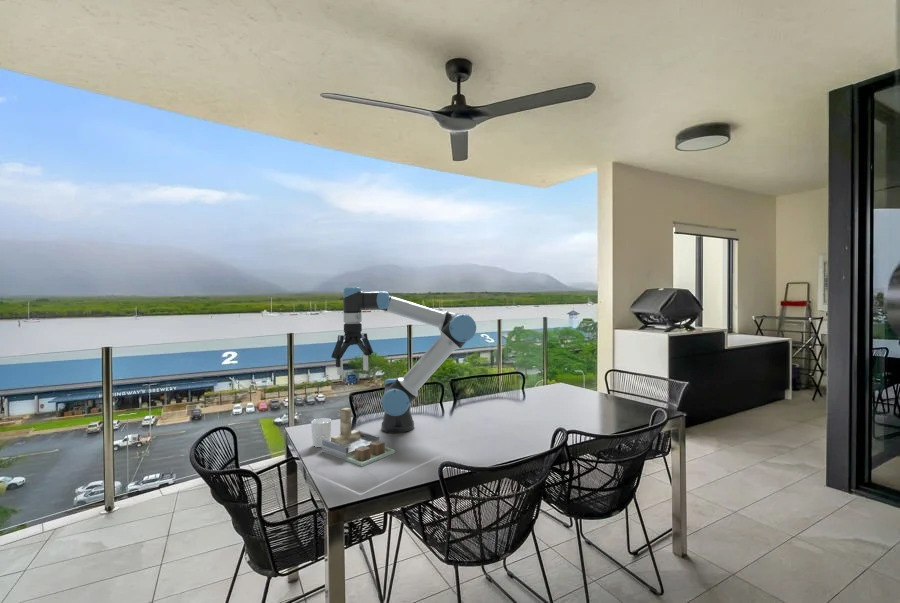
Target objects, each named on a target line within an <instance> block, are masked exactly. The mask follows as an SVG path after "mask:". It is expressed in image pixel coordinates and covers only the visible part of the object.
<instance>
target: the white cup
mask: <svg viewBox="0 0 900 603" xmlns="http://www.w3.org/2000/svg"><path fill="white" fill-rule="evenodd" d="M310 422H311V435H312V436H311V438H312V446H313V447H314V446H315V447H314V448H317V447H321V448H322V440H324V439H325V440H328V441H331V437H332V436H331V435H332V419H331V418H329V417H321V418H316V419H315V418H314V419H312V420H311V421H310Z"/></svg>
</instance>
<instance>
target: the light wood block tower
mask: <svg viewBox="0 0 900 603" xmlns="http://www.w3.org/2000/svg"><path fill="white" fill-rule="evenodd" d="M339 411H340V412H339V416H340V417H339V418H340V419H339V422H340V424H339V425H340V434H338V435H337V434H336V435H334V436H331V437H330V441H331V442H334V443H337V444H340V445H342V444H345V443H348V442H351V441H353V440H356V439H359V438H360V431H361V430H359V429H353V430H352V409H351V408H350V407H344V408H340V410H339Z"/></svg>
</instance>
